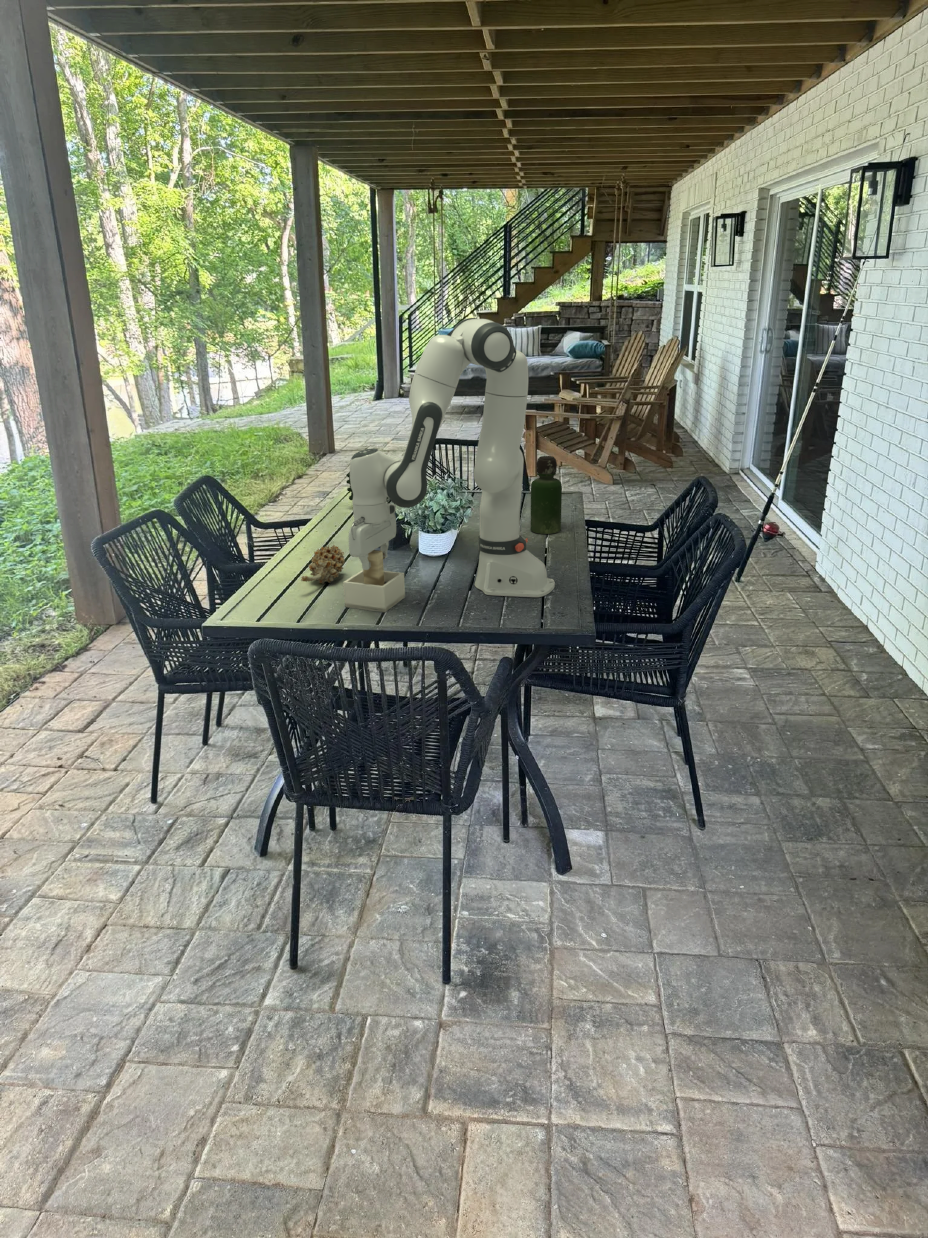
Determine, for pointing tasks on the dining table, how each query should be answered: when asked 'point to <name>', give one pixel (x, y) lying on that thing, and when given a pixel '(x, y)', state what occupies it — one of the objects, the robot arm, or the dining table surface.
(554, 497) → the green bottle
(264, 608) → the dining table surface
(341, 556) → the pine cone
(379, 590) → the square planter tray
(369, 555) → the tall tan wooden post
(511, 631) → the dining table surface
